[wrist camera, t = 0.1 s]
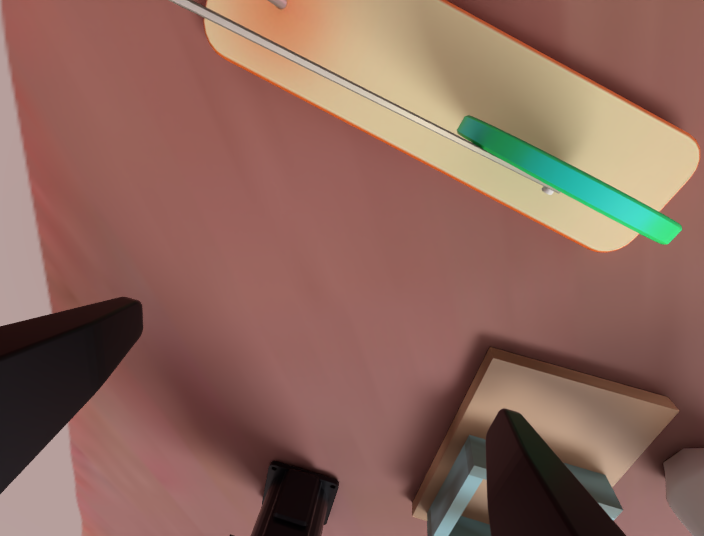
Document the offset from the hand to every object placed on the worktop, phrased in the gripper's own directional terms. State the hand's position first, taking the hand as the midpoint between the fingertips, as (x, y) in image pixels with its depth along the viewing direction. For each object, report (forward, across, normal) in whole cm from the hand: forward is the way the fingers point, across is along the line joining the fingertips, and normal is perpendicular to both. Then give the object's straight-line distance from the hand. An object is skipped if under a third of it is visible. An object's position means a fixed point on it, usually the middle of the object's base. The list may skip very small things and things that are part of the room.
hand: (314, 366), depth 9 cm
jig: (+15, -16, +16) cm, 27 cm away
